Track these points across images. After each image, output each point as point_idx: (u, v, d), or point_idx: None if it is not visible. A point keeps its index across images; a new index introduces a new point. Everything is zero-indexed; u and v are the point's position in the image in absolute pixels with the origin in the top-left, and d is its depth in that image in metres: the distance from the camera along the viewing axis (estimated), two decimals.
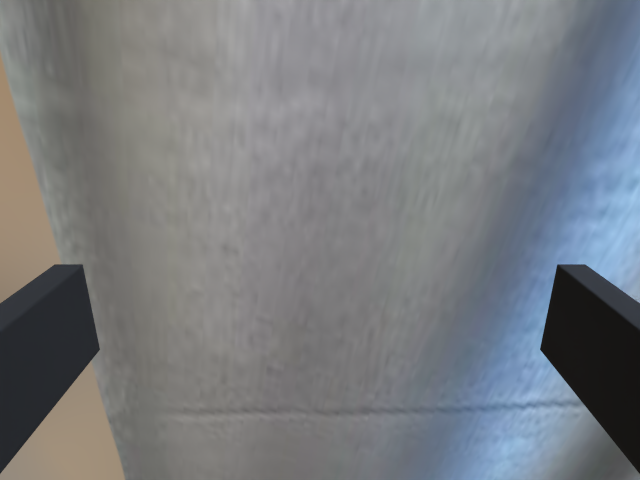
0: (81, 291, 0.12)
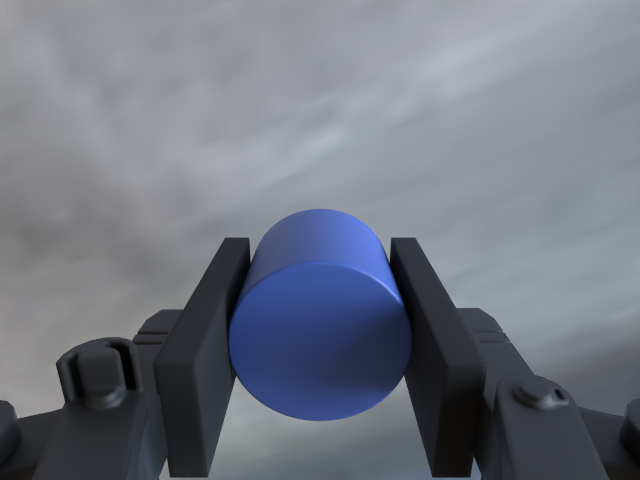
0: (248, 260, 0.14)
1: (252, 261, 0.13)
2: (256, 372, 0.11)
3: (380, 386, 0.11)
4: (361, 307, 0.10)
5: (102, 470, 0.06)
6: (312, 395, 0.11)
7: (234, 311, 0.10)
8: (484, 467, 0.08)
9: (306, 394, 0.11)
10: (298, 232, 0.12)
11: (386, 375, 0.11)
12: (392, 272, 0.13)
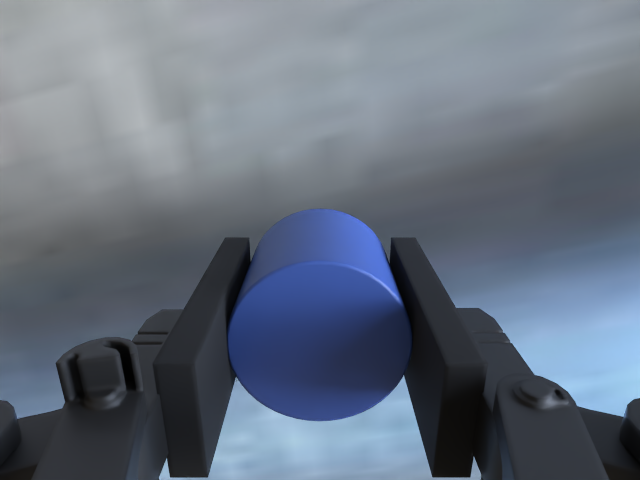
0: (249, 260, 0.14)
1: (252, 261, 0.13)
2: (255, 372, 0.11)
3: (380, 386, 0.11)
4: (361, 307, 0.10)
5: (102, 470, 0.06)
6: (311, 395, 0.11)
7: (233, 311, 0.10)
8: (484, 467, 0.08)
9: (305, 394, 0.11)
10: (297, 232, 0.12)
11: (386, 375, 0.11)
12: (392, 272, 0.13)
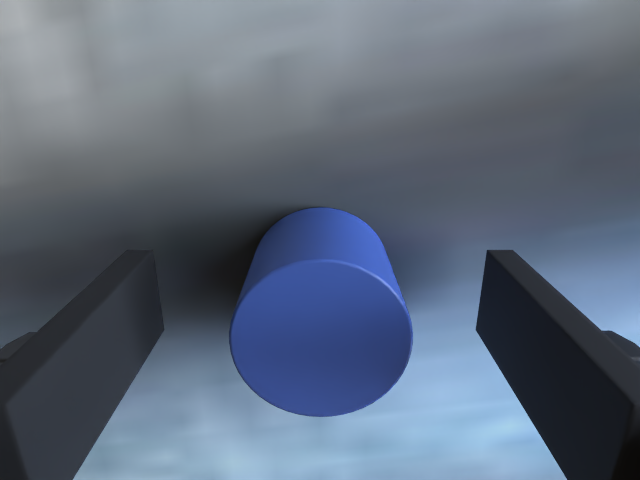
0: (152, 274, 0.13)
1: (253, 259, 0.13)
2: (258, 369, 0.11)
3: (380, 382, 0.11)
4: (361, 304, 0.10)
5: None
6: (313, 391, 0.11)
7: (236, 308, 0.11)
8: None
9: (307, 390, 0.11)
10: (298, 230, 0.12)
11: (386, 371, 0.11)
12: (392, 270, 0.13)
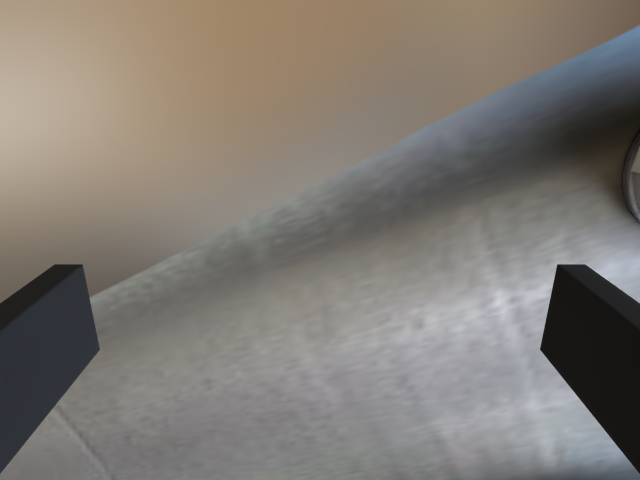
0: (81, 291, 0.12)
1: None
2: None
3: None
4: None
5: None
6: None
7: None
8: None
9: None
10: None
11: None
12: None
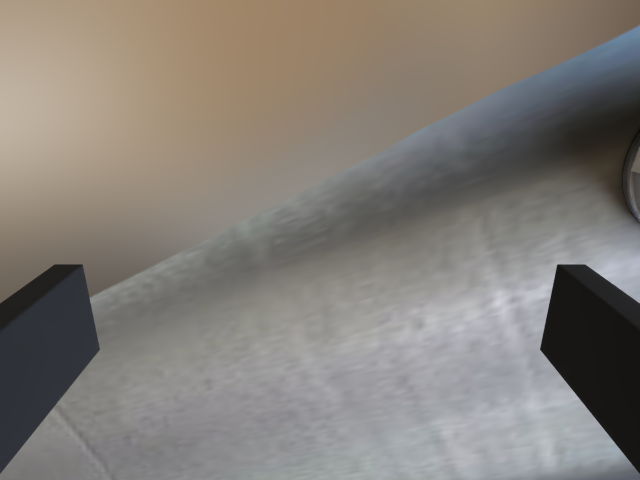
0: (81, 291, 0.12)
1: None
2: None
3: None
4: None
5: None
6: None
7: None
8: None
9: None
10: None
11: None
12: None
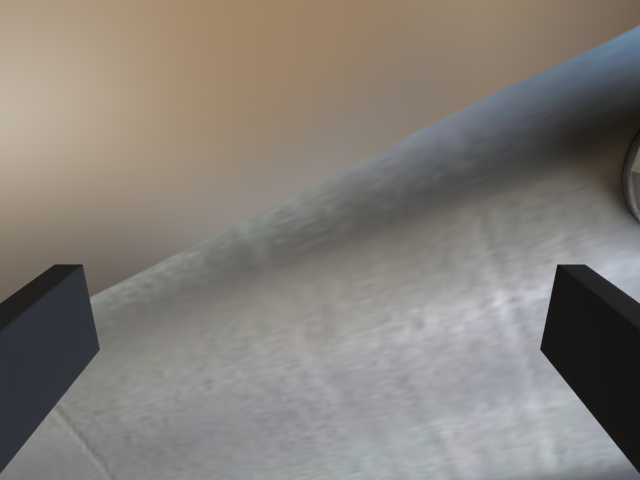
0: (81, 291, 0.12)
1: None
2: None
3: None
4: None
5: None
6: None
7: None
8: None
9: None
10: None
11: None
12: None
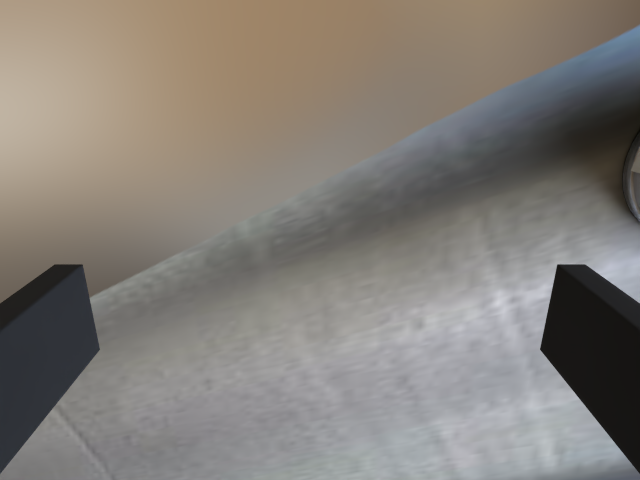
0: (81, 291, 0.12)
1: None
2: None
3: None
4: None
5: None
6: None
7: None
8: None
9: None
10: None
11: None
12: None
